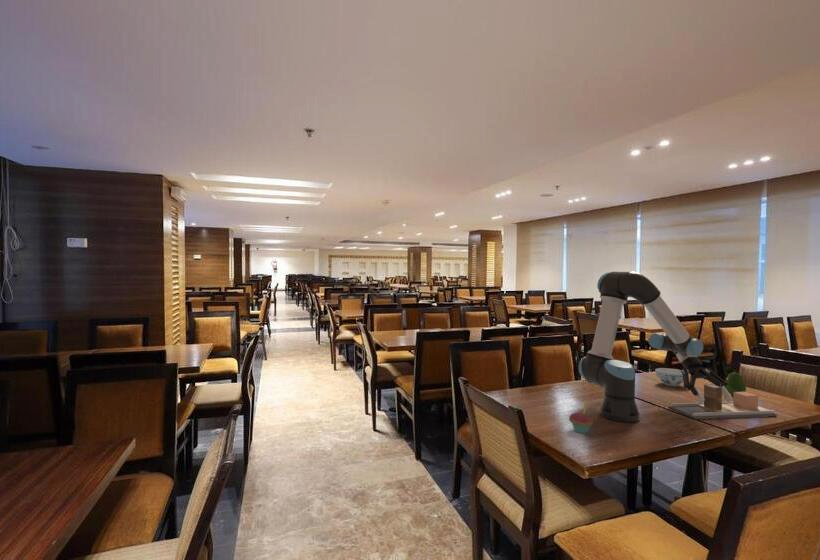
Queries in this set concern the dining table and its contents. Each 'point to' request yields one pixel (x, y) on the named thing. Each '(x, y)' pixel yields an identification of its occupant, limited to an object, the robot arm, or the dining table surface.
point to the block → (745, 400)
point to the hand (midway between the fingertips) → (716, 401)
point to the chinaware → (670, 376)
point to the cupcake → (581, 421)
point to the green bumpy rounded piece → (735, 383)
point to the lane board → (701, 413)
